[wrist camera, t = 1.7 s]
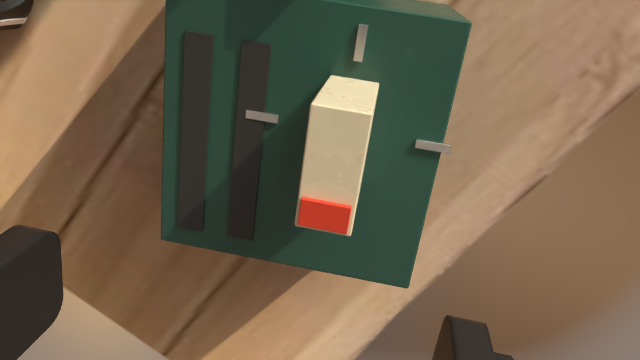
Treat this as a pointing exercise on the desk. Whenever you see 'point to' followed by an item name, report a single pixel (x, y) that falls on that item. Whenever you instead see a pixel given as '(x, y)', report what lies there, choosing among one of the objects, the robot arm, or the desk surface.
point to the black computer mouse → (14, 13)
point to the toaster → (292, 120)
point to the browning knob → (335, 154)
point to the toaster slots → (197, 131)
